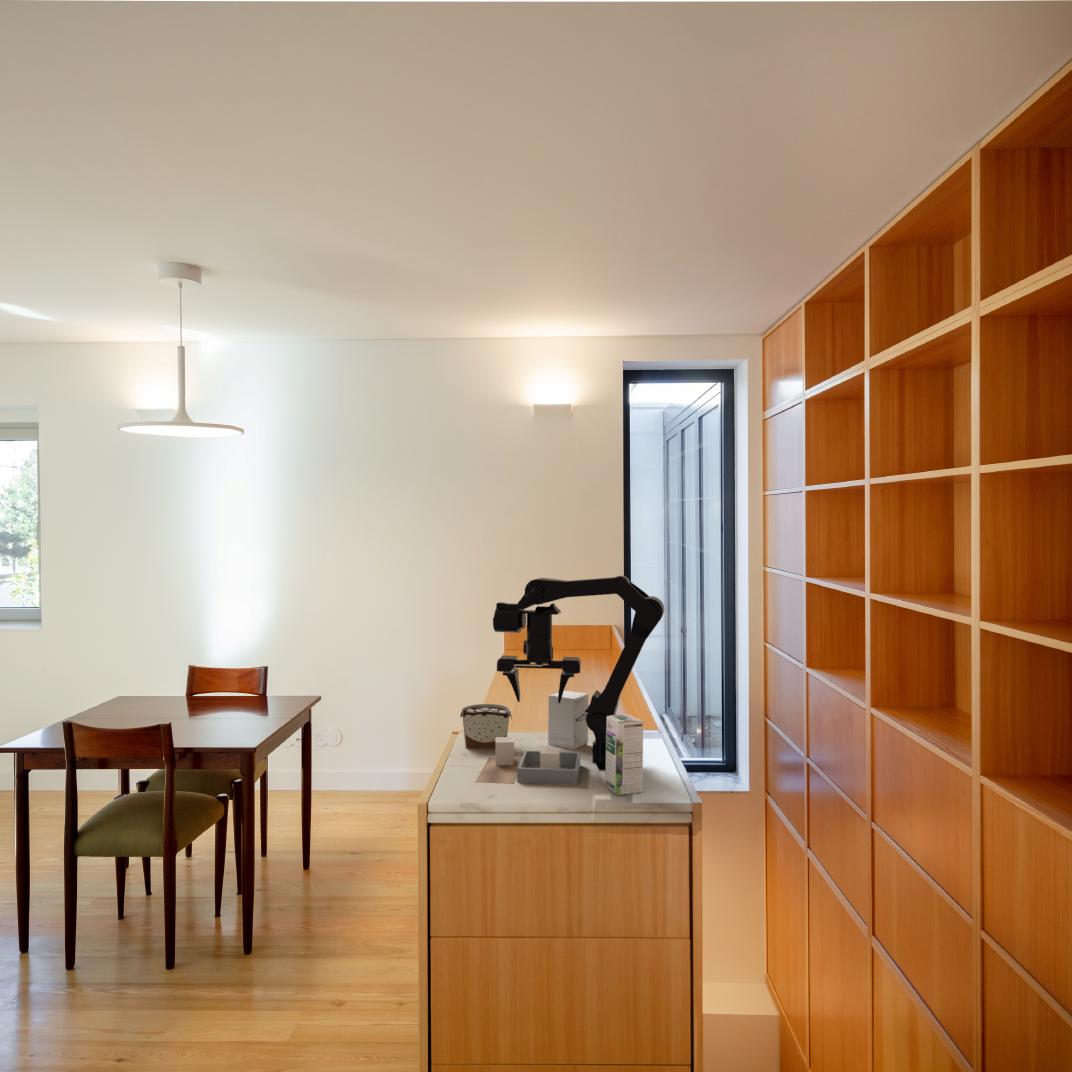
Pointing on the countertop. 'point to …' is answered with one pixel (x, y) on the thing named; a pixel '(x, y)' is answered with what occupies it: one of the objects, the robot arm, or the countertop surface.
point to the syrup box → (624, 754)
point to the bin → (548, 774)
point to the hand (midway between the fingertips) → (539, 702)
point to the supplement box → (568, 720)
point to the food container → (484, 724)
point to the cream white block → (504, 751)
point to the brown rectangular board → (498, 772)
